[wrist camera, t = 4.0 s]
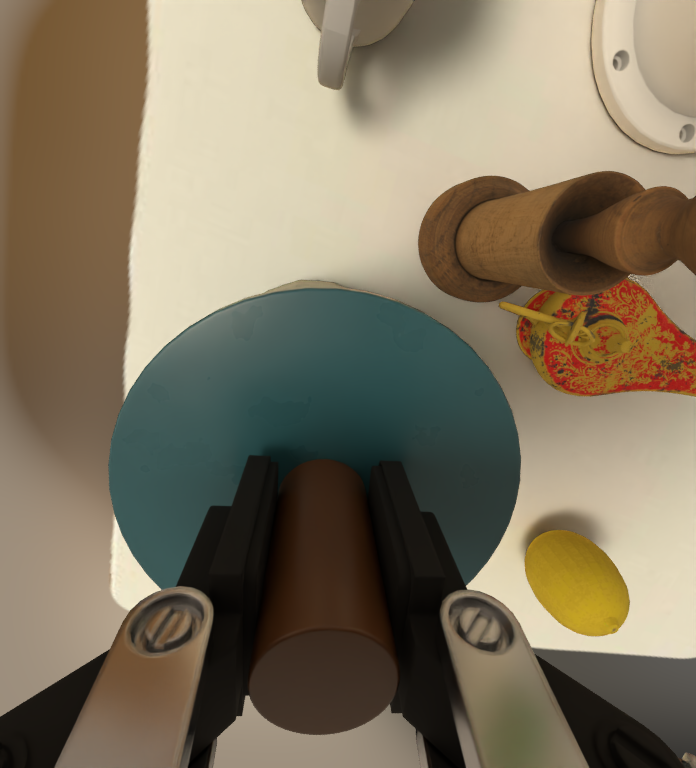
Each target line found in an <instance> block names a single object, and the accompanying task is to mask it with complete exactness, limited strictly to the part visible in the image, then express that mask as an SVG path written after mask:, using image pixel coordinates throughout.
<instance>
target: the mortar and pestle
mask: <svg viewBox="0 0 696 768" xmlns="http://www.w3.org/2000/svg"><path fill="white" fill-rule="evenodd" d="M418 247H419V255H420V260H421V263H422V265H423V268H424V270H425V272H426V274H427V275H428V277H429V278H430V280H431V281H432V282H433V283H434V284H435V285H436V286H437V287H438V288H439V289H440V290H442V291H443V292H445V293H447V294H449V295H451V296H454V297H457V298H460V299H463V300H467V301H472V302H490V301H494V300H498V299H501V298H503V297H506V296H508V295H509V294H511V293H513V292H514V291H516V290H517V289H518V288H520V287H521V286H526V287H532V288H538V289H544V290H549V291H554V292H560V293H565V294H570V295H579V296H586V295H593V294H597V293H601V292H604V291H606V290H609V289H611V288H612V287H614V286H616V285H617V284H619V283H620V282H622V281H623V280H624V279H626V278H627V277H628V276H629V275H630V274H635V275H653V274H656V273H659V272H661V271H663V270H665V269H667V268H668V267H670V266H671V265H672V264H673V263H675V262H676V261H677V260H680V261H681V262H682V263H684V264H685V266H686V267H687V268H688V269H689V270H691V271H692V272H693V273H694V274H695V275H696V196H695V197H694V198H693V199H688V198H687V197H686V196H685V195H684V194H683V193H682V192H680V191H679V190H677V189H675V188H672V187H667V186H661V187H654V188H650V189H647V190H645V189H644V188H643V187H642V185H641V184H640V183H639V182H637V181H636V180H635V179H633V178H632V177H630V176H628V175H626V174H623V173H619V172H614V171H603V172H596V173H592V174H588V175H585V176H581V177H578V178H574V179H571V180H568V181H564V182H561V183H557V184H554V185H550V186H547V187H543V188H539V189H536V190H532V191H528V190H527V189H526V188H525V187H524V186H522V185H521V184H519V183H518V182H516V181H513V180H511V179H508V178H505V177H500V176H483V177H478V178H474V179H471V180H468V181H466V182H463V183H461V184H458V185H456V186H454V187H452V188H450V189H448V190H447V191H445V192H444V193H443V194H442V195H440V196H439V197H438V198H437V199H436V200H435V201H434V202H433V204H432V205H431V206H430V208H429V209H428V211H427V213H426V215H425V217H424V219H423V221H422V224H421V228H420V232H419V239H418Z"/></svg>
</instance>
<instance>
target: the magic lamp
mask: <svg viewBox="0 0 696 768" xmlns="http://www.w3.org/2000/svg"><path fill="white" fill-rule="evenodd" d="M499 307H500V308H501V309H504V310H507V311H509V312H512V313H515V314H517V315H520V316H519V319H518V321H517V328H516V335H517V341H518V344H519V346H520V348H521V350H522V351H523V353H524V354H525V355H526V356H527V357H529V358H530V359H531V360H532V361H533V364H534V366H535V368H536V370H537V372H538V373H539V375H540V376H541V377H542V378H543V379H544V380H545V381H546V382H547V383H548V384H549V385H550V386H552V387H553V388H555V389H556V390H558V391H561V392H563V393H566V394H570V395H576V396H598V395H606V394H612V393H620V392H630V391H656V392H669V393H677V394H683V395H689V396H695V397H696V340H694V339H693V338H692V337H690V336H689V335H687V334H686V333H685V332H684V331H682V330H681V329H680V328H679V327H678V326H676V325H675V324H674V323H673V322H672V321H671V320H670V319H669V318H668V317H667V315H666V314H665V313H664V312H663V311H662V310H661V309H660V307H659V306H658V305H657V303H656V302H655V301H654V299H653V298H652V297H651V296H650V294H649V293H648V292H647V291H646V290H645V289H644V288H643V287H641V286H640V285H639V284H638V283H636V282H634V281H632V280H630V279H628V278H626V279H624V280H623V281H622V282H620V283H619V284H617V285H616V286H614V287H612V288H611V289H609V290H606V291H604V292H601V293H597V294H593V295H586V296H579V295H570V294H565V293H560V292H554V291H549V290H542V291H540V292H539V293H537V294H536V295H534V296H533V297H532V298H531V299H530V300H529V301H528V302H527V304H526V305H525V306H524V307H521V306H518V305H515V304H511V303H508V302H500V303H499Z"/></svg>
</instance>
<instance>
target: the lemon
mask: <svg viewBox="0 0 696 768" xmlns="http://www.w3.org/2000/svg"><path fill="white" fill-rule="evenodd" d="M525 571H526V576H527V579H528V582H529V584H530V586H531V588H532V590H533V592H534V594H535V596H536V598H537V599H538V600H539V602H540V603H541V604H542V606H543V607H544V608H545V609H546V610H547V611H548V612H549V613H550V614H551V615H552V616H553V617H554V618H555V619H556V620H557V621H558V622H559V623H561V624H562V625H563V626H565V627H566V628H568V629H570V630H572V631H574V632H576V633H579V634H583V635H587V636H604V635H608V634H613V633H616V632H617V631H618V629H619V628H620V627H621V626H622V624H623V623H624V621H625V620H626V617H627V615H628V612H629V605H630V600H629V594H628V589H627V586H626V584H625V582H624V580H623V578H622V576H621V574H620V573H619V571H618V569H617V567H616V566H615V564H614V563H613V562H612V560H611V559H610V558H609V557H608V556H607V554H606V553H605V552H604V551H602V550H601V549H600V548H599V547H598V546H597V545H596V544H594V543H593V542H592V541H590V540H589V539H587V538H586V537H584V536H581V535H579V534H577V533H574V532H571V531H566V530H551V531H548V532H544V533H542V534H541V535H539V536H538V537H536V538H535V539H534V540H533V541H532V542H531V544H530V545H529V547H528V549H527V552H526V556H525Z"/></svg>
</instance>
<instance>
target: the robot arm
mask: <svg viewBox="0 0 696 768" xmlns="http://www.w3.org/2000/svg"><path fill="white" fill-rule="evenodd" d="M591 47H592V59H593V70H594V74H595V78H596V82H597V86H598V89H599V93H600V95H601V98H602V100H603V102H604V104H605V106H606V108H607V110H608V112H609V114H610V115H611V117H612V118H613V119H614V121H615V122H616V123H617V125H618V126H619V127H620V128H621V130H622V131H623V132H625V133H626V134H627V135H628V136H630V137H631V138H632V139H633V140H635V141H636V142H637V143H639V144H641V145H643V146H646V147H648V148H650V149H652V150H654V151H659V152H665V153H670V154H685V153H695V152H696V0H596V4H595V9H594V13H593V24H592V38H591ZM277 497H278V462H271V456H259V455H249V456H248V459H247V462H246V465H245V468H244V471H243V474H242V477H241V480H240V483H239V486H238V489H237V491H236V494H235V497H234V500H233V503H232V506H215V505H212V506H210V508H209V510H208V512H207V514H206V516H205V519H204V521H203V523H202V526H201V528H200V530H199V533H198V535H197V537H196V540H195V542H194V545H193V547H192V549H191V552H190V554H189V556H188V559H187V561H186V563H185V566H184V568H183V571H182V573H181V575H180V578H179V580H178V582H177V585H176V587H172V588H166V589H164V590H161V591H158V592H155V593H153V594H151V595H150V596H148V597H146V598H145V599H143V600H141V601H140V602H139V603H138V604H137V605H136V606H135V607H134V608H133V609H132V610H130V612H129V613H128V615H127V616H126V618H125V620H124V621H123V623H122V625H121V627H120V629H119V631H118V633H117V635H116V637H115V640H114V642H113V644H112V646H111V648H110V650H108V651H106V652H104V653H103V654H101V655H100V656H98V657H96V658H95V659H93V660H92V661H90V662H88V663H87V664H85V665H83V666H82V667H80V668H79V669H77V670H75V671H74V672H72V673H70V674H69V675H67V676H66V677H64V678H62V679H61V680H59V681H57V682H56V683H54V684H53V685H51V686H49V687H48V688H46V689H45V690H43V691H41V692H40V693H38V694H36V695H35V696H33V697H32V698H30V699H28V700H27V701H25V702H23V703H22V704H20V705H19V706H17V707H15V708H14V709H12V710H11V711H9V712H7V713H6V714H4V715H3V716H1V717H0V768H213V764H214V758H215V752H216V746H217V737H218V736H219V735H220V734H221V733H222V732H223V731H224V730H225V729H226V728H227V727H228V726H230V725H231V724H232V723H233V722H234V721H235V720H236V716H242V712H243V706H244V700H245V696H246V695H249V692H248V685H247V680H248V672H249V666H250V660H251V654H252V648H253V642H254V636H255V632H256V626H257V620H258V614H259V608H260V602H261V596H262V590H263V584H264V578H265V572H266V566H267V560H268V554H269V548H270V542H271V536H272V530H273V524H274V517H275V511H276V505H277ZM368 506H369V511H370V516H371V521H372V526H373V532H374V537H375V542H376V547H377V552H378V558H379V563H380V568H381V573H382V579H383V584H384V589H385V594H386V599H387V605H388V610H389V615H390V620H391V625H392V630H393V635H394V641H395V646H396V651H397V656H398V661H399V667H400V681H399V686H398V689H397V692H396V694H395V696H394V698H393V700H392V701H391V703H390V706H391V712H392V713H402V714H403V717H404V718H405V719H406V720H407V721H408V722H409V723H410V724H411V725H413V726H414V727H415V728H416V742H417V749H418V755H419V761H420V768H696V756H694V755H691V754H689V753H685V754H684V756H683V758H682V759H680V758H678V757H677V756H676V754H675V753H674V752H673V751H672V750H671V749H670V748H669V747H668V746H667V745H666V744H665V743H664V742H663V741H662V740H661V739H660V738H659V737H658V736H656V735H655V734H654V733H653V732H651V731H650V730H649V729H647V728H646V727H645V726H644V725H642V724H641V723H639V722H638V721H636V720H635V719H633V718H632V717H630V716H628V715H627V714H626V713H624V712H622V711H621V710H619V709H618V708H616V707H615V706H613V705H612V704H610V703H609V702H607V701H606V700H604V699H602V698H601V697H600V696H598V695H597V694H595V693H593V692H592V691H590V690H589V689H587V688H586V687H584V686H583V685H581V684H580V683H578V682H577V681H575V680H574V679H572V678H571V677H569V676H568V675H566V674H565V673H563V672H561V671H560V670H558V669H557V668H555V667H554V666H552V665H551V664H549V663H548V662H546V661H545V660H543V659H542V658H540V657H539V656H537V655H536V654H534V653H533V651H532V648H531V646H530V644H529V642H528V640H527V638H526V636H525V634H524V632H523V630H522V628H521V626H520V623H519V622H518V620H517V619H516V617H515V616H514V614H513V613H512V612H511V611H510V610H509V609H508V608H507V607H506V606H505V605H504V604H503V603H501V602H500V601H498V600H497V599H495V598H494V597H492V596H490V595H487V594H485V593H482V592H480V591H474V590H467V588H466V586H465V583H464V581H463V579H462V576H461V574H460V572H459V569H458V567H457V565H456V563H455V560H454V558H453V556H452V553H451V551H450V549H449V546H448V544H447V542H446V539H445V537H444V535H443V533H442V530H441V528H440V526H439V523H438V521H437V519H436V517H435V515H434V513H432V512H421V511H420V509H419V506H418V504H417V501H416V498H415V496H414V493H413V491H412V488H411V485H410V483H409V480H408V478H407V475H406V472H405V470H404V467H403V465H402V462H401V461H382V460H380V462H379V465H378V466H372V468H371V474H370V483H369V492H368Z"/></svg>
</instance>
